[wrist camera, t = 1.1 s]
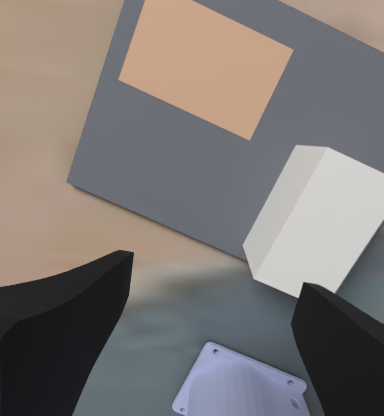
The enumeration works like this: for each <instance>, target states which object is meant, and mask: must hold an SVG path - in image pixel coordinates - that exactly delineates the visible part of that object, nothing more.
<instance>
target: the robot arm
mask: <svg viewBox="0 0 384 416" xmlns="http://www.w3.org/2000/svg"><path fill="white" fill-rule="evenodd" d="M133 256H134V252H129V251H123V250H118V251H115V252H113V253H110V254H108V255H106V256H104V257H101V258H99V259H97V260H94V261H92V262H90V263H88V264H85V265H82V266H80V267H77V268H74V269H72V270H69V271H67V272H64V273H60V274H57V275H54V276H50V277H47V278H43V279H39V280H35V281H30V282H25V283H20V284H15V285H10V286H4V287H0V416H72V414H73V412H74V409H75V407H76V405H77V402H78V400H79V397H80V395H81V393H82V390H83V388H84V386H85V383H86V381H87V379H88V376H89V374H90V372H91V370H92V368H93V366H94V364H95V362H96V360H97V358H98V357H99V355H100V353H101V351H102V349H103V348H104V346H105V344H106V342H107V340H108V338H109V337H110V335H111V333H112V331H113V329H114V328H115V326H116V324H117V322H118V320H119V318H120V316H121V314H122V312H123V309H124V307H125V304H126V302H127V299H128V296H129V290H130V282H131V273H132V264H133ZM291 326H292V330H293V334H294V338H295V341H296V345H297V348H298V350H299V353H300V355H301V358H302V360H303V363H304V365H305V367H306V370H307V372H308V374H309V377H310V379H311V382H312V384H313V386H314V389H315V391H316V393H317V396H318V398H319V400H320V403H321V405H322V408H323V411H324V413H325V416H384V324H382V323H380V322H379V321H377V320H375V319H374V318H372V317H371V316H369V315H367V314H366V313H364V312H363V311H361V310H360V309H358V308H356V307H355V306H353V305H352V304H350V303H349V302H347V301H346V300H344V299H343V298H341V297H339V296H338V295H336V294H335V293H333V292H331V291H330V290H328V289H326V288H325V287H323V286H321V285H318V284H313V283H308V282H303V285H302V288H301V291H300V295H299V298H298V302H297V305H296V308H295V312H294V315H293V318H292V322H291ZM215 349H216V350H218V351H214V350H215ZM290 380H291V381H290ZM306 388H307V385H306V383H305V381H304V380H302V379H300V378H298V377H295V376H293V375H290V374H288V373H286V372H283V371H281V370H278V369H276V368H274V367H271V366H269V365H266V364H264V363H262V362H259V361H257V360H254V359H252V358H250V357H247V356H245V355H242V354H240V353H237V352H235V351H233V350H230V349H228V348H225V347H223V346H221V345H218V344H216V343H213V342H207V343H206V344H205V345H204V347H203V349H202V351H201V353H200V355H199V356H198V358H197V360H196V362H195V364H194V365H193V367H192V369H191V371H190V373H189V375H188V376H187V378H186V380H185V382H184V384H183V385H182V387H181V389H180V391H179V393H178V395H177V396H176V398H175V400H174V402H173V406H172V408H173V410H174V411H175V412H178V413H180V414H183V415H185V416H310V413H309V410H308V408H307V405H306V402H305V400H304V397H303V393H304V391H305V390H306Z"/></svg>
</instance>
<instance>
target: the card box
mask: <svg viewBox="0 0 384 416" xmlns="http://www.w3.org/2000/svg"><path fill="white" fill-rule="evenodd" d="M383 220H384V173H382V172H380V171H378V170H376V169H374V168H371V167H369V166H367V165H365V164H363V163H361V162H359V161H356V160H354V159H352V158H350V157H348V156H346V155H344V154H342V153H339V152H337V151H335V150H333V149H331V148H329V147H318V146H304V145H296V146H295V148H294V150H293V151H292V153H291V155H290V157H289V159H288V161H287V163H286V165H285V167H284V168H283V170H282V172H281V174H280V176H279V178H278V180H277V182H276V183H275V185H274V187H273V189H272V191H271V193H270V195H269V197H268V199H267V200H266V202H265V204H264V206H263V208H262V210H261V212H260V214H259V215H258V217H257V219H256V221H255V223H254V225H253V227H252V229H251V231H250V232H249V234H248V236H247V238H246V240H245V242H244V244H243V248H244V251H245V254H246V257H247V260H248V263H249V266H250V269H251V272H252V275H253V278H254V279H255V280H258V281H260V282H262V283H265V284H267V285H269V286H271V287H274V288H276V289H278V290H281V291H283V292H285V293H288V294H290V295H292V296H295V297H297V298H299V295H300V291H301V288H302V285H303V282H308V283H313V284H318V285H321V286H323V287H325V288H326V289H328V290H330V291H331V292H333V293H335V292H336V290H337V289H338V287H339V286H340V284H341V283H342V281H343V280H344V278H345V277H346V275H347V274H348V272H349V271H350V269H351V268H352V266H353V265H354V263H355V262H356V260H357V259H358V257H359V256H360V254H361V253H362V251H363V250H364V248H365V247H366V245H367V244H368V242H369V241H370V239H371V238H372V236H373V235H374V233H375V232H376V230H377V229H378V227H379V226H380V224H381V223H382V221H383Z"/></svg>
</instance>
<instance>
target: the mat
mask: <svg viewBox="0 0 384 416" xmlns="http://www.w3.org/2000/svg"><path fill="white" fill-rule="evenodd" d="M296 145H304V146H318V147H329V148H331V149H333V150H335V151H337V152H339V153H342V154H344V155H346V156H348V157H350V158H352V159H354V160H356V161H359V162H361V163H363V164H365V165H367V166H369V167H371V168H374V169H376V170H378V171H380V172H382V173H384V53H383V52H381V51H379V50H377V49H375V48H373V47H371V46H369V45H367V44H365V43H363V42H361V41H359V40H357V39H355V38H353V37H351V36H349V35H347V34H345V33H343V32H341V31H339V30H337V29H335V28H333V27H331V26H329V25H327V24H325V23H323V22H321V21H319V20H317V19H315V18H313V17H311V16H309V15H307V14H305V13H303V12H301V11H299V10H297V9H295V8H293V7H291V6H289V5H287V4H285V3H282V2H280V1H278V0H124V3H123V7H122V10H121V13H120V16H119V19H118V22H117V25H116V28H115V32H114V35H113V38H112V41H111V44H110V47H109V50H108V53H107V57H106V60H105V63H104V66H103V69H102V72H101V75H100V78H99V82H98V85H97V88H96V91H95V94H94V97H93V100H92V103H91V107H90V110H89V113H88V116H87V119H86V122H85V125H84V128H83V132H82V135H81V138H80V141H79V144H78V147H77V150H76V153H75V157H74V160H73V163H72V166H71V169H70V172H69V175H68V178H67V183H69V184H71V185H74V186H76V187H78V188H81V189H83V190H85V191H87V192H90V193H92V194H94V195H97V196H99V197H101V198H103V199H106V200H108V201H110V202H113V203H115V204H117V205H119V206H122V207H124V208H126V209H129V210H131V211H133V212H136V213H138V214H140V215H142V216H145V217H147V218H149V219H152V220H154V221H156V222H158V223H161V224H163V225H165V226H168V227H170V228H172V229H174V230H177V231H179V232H181V233H184V234H186V235H188V236H191V237H193V238H195V239H197V240H200V241H202V242H204V243H207V244H209V245H211V246H213V247H216V248H218V249H220V250H223V251H225V252H227V253H229V254H232V255H234V256H236V257H239V258H241V259H243V260H246V261H248V260H247V257H246V254H245V251H244V248H243V244H244V242H245V240H246V238H247V236H248V234H249V232H250V231H251V229H252V227H253V225H254V223H255V221H256V219H257V217H258V215H259V214H260V212H261V210H262V208H263V206H264V204H265V202H266V200H267V199H268V197H269V195H270V193H271V191H272V189H273V187H274V185H275V183H276V182H277V180H278V178H279V176H280V174H281V172H282V170H283V168H284V167H285V165H286V163H287V161H288V159H289V157H290V155H291V153H292V151H293V150H294V148H295V146H296ZM383 224H384V220H383V221H382V223H381V224H380V226H379V227H378V229H377V230H376V232H375V233H374V235H373V236H372V238H371V239H370V241H369V242H368V244H367V245H366V247H365V248H364V250H363V251H362V253H361V254H360V256H359V257H358V259H357V260H356V262H355V263H354V265H353V266H352V268H351V269H350V271H349V272H348V274H347V275H346V277H345V278H344V280H343V281H342V283H341V284H340V286H339V287H338V289H337V290H336V292H335V294H337V292H338V291H339V289H340V288H341V286H342V285H343V283H344V282H345V280H346V279H347V277H348V276H349V274H350V273H351V271H352V270H353V268H354V267H355V265H356V264H357V262H358V261H359V259H360V258H361V256H362V255H363V253H364V252H365V251H366V249H367V248H368V246H369V245H370V243H371V242H372V240H373V239H374V237H375V236H376V234H377V233H378V231H379V230H380V228H381V227H382V225H383Z"/></svg>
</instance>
